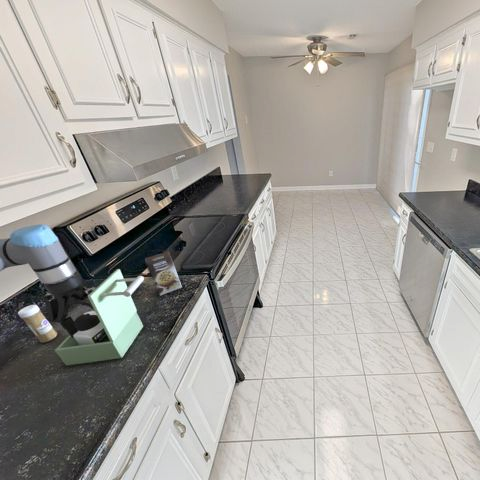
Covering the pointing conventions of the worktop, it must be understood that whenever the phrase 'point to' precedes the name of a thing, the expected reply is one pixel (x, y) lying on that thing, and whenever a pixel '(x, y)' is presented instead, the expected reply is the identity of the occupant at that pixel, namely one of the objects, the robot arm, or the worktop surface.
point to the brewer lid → (114, 302)
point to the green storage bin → (100, 346)
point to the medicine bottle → (89, 329)
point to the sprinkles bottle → (37, 323)
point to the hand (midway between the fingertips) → (96, 331)
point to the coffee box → (163, 273)
